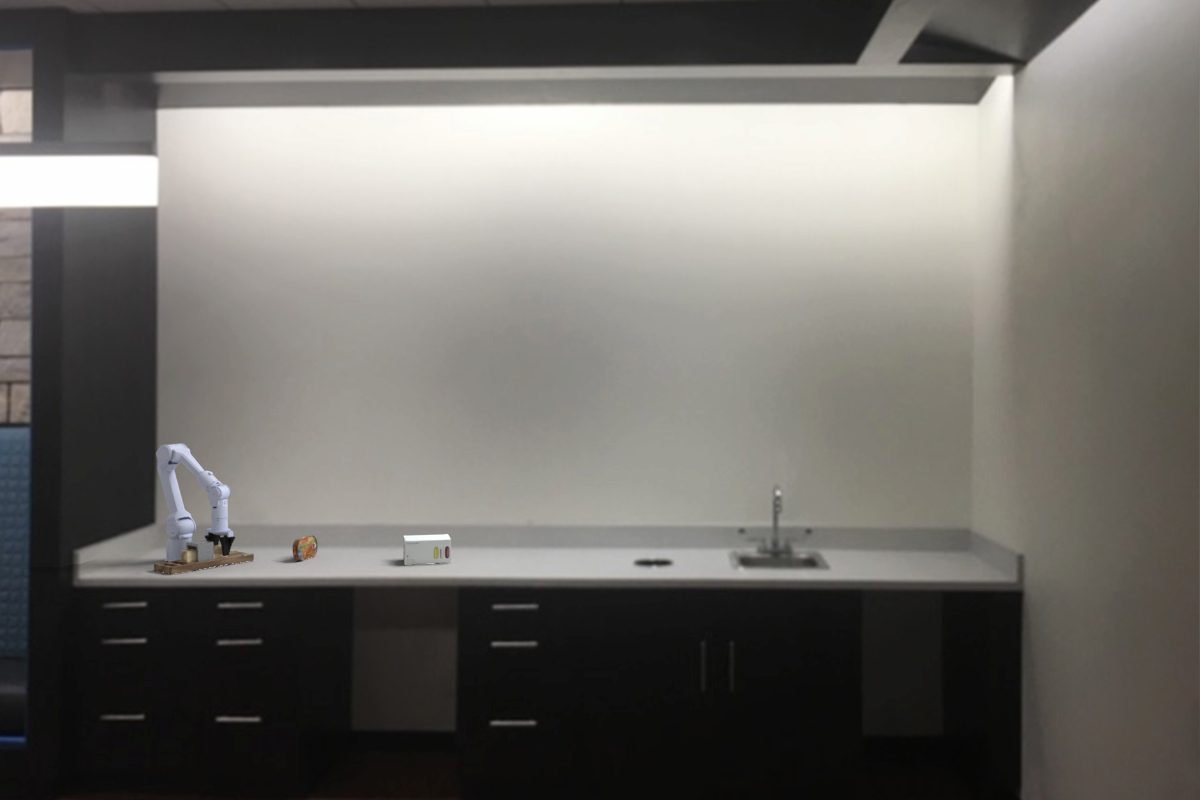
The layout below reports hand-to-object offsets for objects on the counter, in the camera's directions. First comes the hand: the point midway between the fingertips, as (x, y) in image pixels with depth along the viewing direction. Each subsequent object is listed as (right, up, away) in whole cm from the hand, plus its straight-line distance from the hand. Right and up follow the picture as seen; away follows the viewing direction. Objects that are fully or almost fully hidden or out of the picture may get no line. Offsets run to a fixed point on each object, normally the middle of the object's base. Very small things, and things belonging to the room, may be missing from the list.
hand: (220, 554), depth 359 cm
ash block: (-4, -1, -5) cm, 6 cm away
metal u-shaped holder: (-5, -1, -6) cm, 8 cm away
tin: (+29, -3, +8) cm, 30 cm away
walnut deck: (-4, -3, -5) cm, 7 cm away
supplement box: (+76, -3, +1) cm, 76 cm away
